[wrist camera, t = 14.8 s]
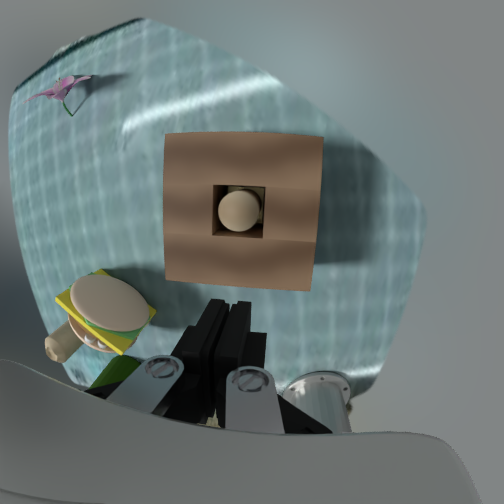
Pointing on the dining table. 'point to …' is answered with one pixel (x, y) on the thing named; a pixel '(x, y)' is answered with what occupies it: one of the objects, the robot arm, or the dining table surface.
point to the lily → (60, 89)
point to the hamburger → (105, 312)
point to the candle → (62, 343)
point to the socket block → (216, 188)
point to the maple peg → (240, 209)
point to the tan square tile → (258, 190)
